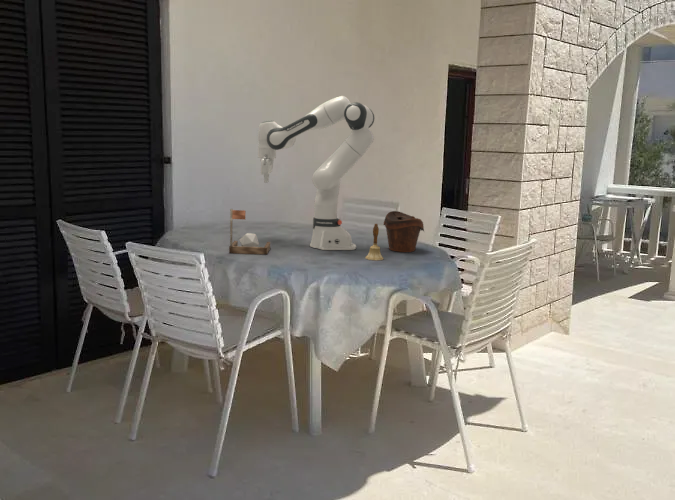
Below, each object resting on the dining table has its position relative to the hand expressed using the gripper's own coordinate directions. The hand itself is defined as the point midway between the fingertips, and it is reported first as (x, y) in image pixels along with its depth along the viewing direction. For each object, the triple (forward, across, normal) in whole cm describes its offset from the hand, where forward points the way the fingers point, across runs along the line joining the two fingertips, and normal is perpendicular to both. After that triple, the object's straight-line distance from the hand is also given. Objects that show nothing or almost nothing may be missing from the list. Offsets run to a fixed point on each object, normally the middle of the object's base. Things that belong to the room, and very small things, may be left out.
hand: (266, 182), depth 333 cm
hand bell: (+29, -37, -53) cm, 71 cm away
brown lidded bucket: (+29, -13, -68) cm, 75 cm away
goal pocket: (+29, -28, +4) cm, 41 cm away
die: (+29, -28, +4) cm, 41 cm away
